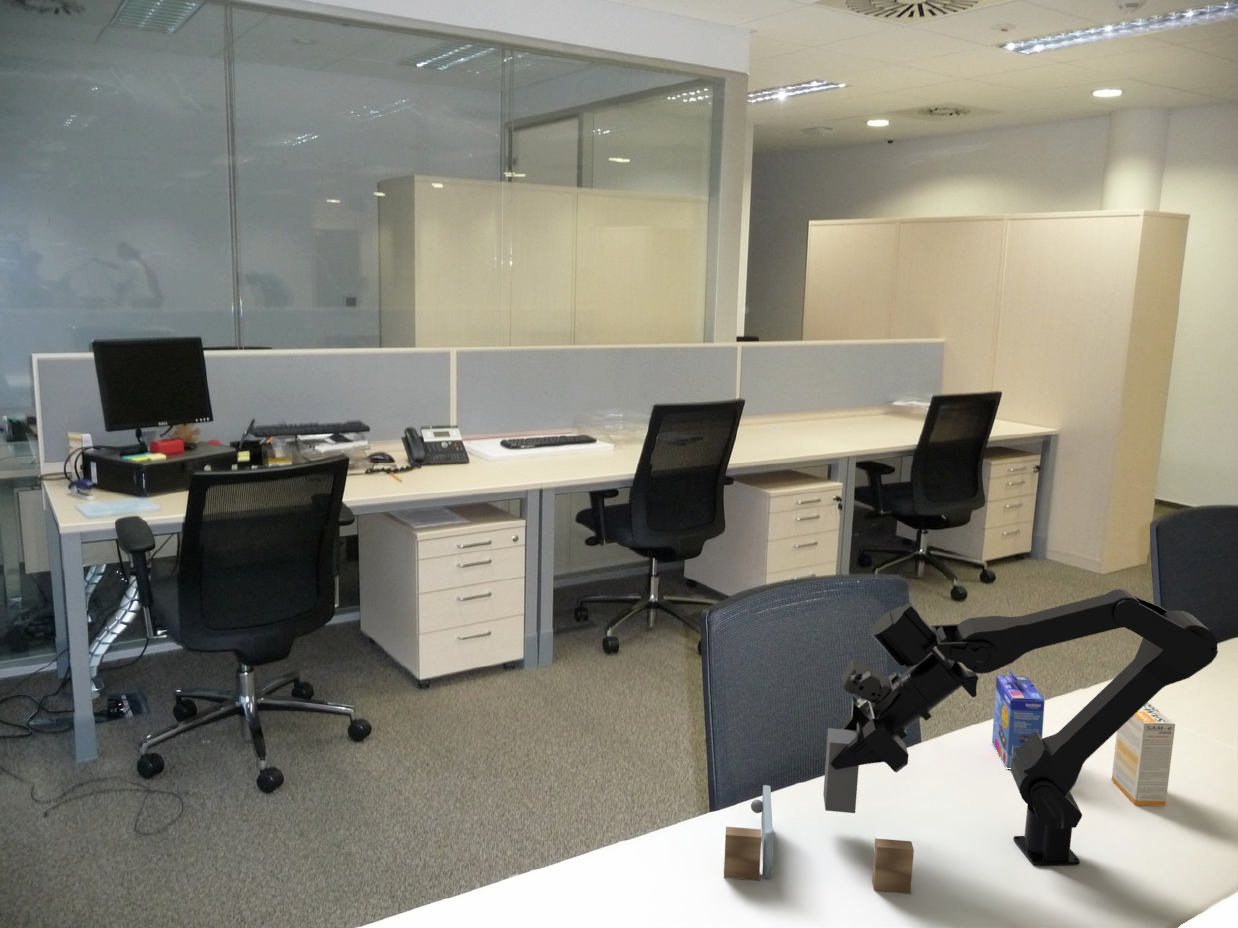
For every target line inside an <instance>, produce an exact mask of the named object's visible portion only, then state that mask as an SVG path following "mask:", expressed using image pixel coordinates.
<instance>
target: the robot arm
mask: <svg viewBox="0 0 1238 928" xmlns="http://www.w3.org/2000/svg"><path fill="white" fill-rule="evenodd" d="M1121 628H1122V629H1123V628H1124V629H1127V630H1128V631H1131V632H1133V633H1135V635H1136V634H1137V635H1139V636H1140V637H1142V638H1141V639H1142V640H1141V642H1140V645H1139V646H1138V650H1137V652H1136V654H1135V657H1134V658H1133V659H1132V661H1130V663H1129V664H1128V665H1127V666H1126V667H1124V669H1122V671H1120V673H1118V674H1117V675H1116V676H1115V677H1114V678H1113V679H1111V681H1110V682H1109V683H1108V684H1107V685H1106V686H1105V687H1104V688H1103V689H1102V690H1101V691H1099V693H1097V694H1096V695H1095V697H1093V698H1092V699H1091V700H1090V701H1089V702H1088V703H1087V704H1086V705H1085V706H1084V707H1082V709H1080V711H1079V712H1078V713H1077V714H1075V715H1074V716H1073V717H1072V718H1071V720H1070V721H1069V722H1068V723H1067V724H1065V725H1064V726H1063V727H1062V728H1061V729H1060V730H1059V731H1058V732H1057V733H1054V734H1052V735H1049V736H1046V737H1042V738H1041V736H1040V735H1039V734H1038V733H1037V732H1034V733H1033V734H1031V736H1030V737H1029V738H1028V740H1027V741H1026V742H1025V743H1024V744H1023V745H1022V746H1020V747H1018V748H1016V749H1014V751H1015V753H1016V755H1015V757H1014V758H1013V759H1012V762H1011V770H1010V772H1011V775H1012V776H1013V779H1014V782H1015V785H1016V787H1017V789H1018V792H1019V795H1020V796H1021V799H1022V801H1024V802H1025V803H1026V805H1027V807H1026V818H1025V828H1024V835H1014V836H1013V838H1012V839H1013V842H1014V843H1015V844H1016V845H1017V847H1018V848H1019V850H1021V852H1022V853H1023V854H1024V855H1025V857H1026V858H1027V859H1028V860H1029V862H1030V863H1031V864H1032V865H1034V866H1059V865H1060V866H1061V865H1067V866H1068V865H1070V866H1072V865H1080V862H1081V860H1080V858H1079V857H1078V856H1077V855H1076V854H1075V853H1074V851H1073V850H1071V844H1072V843H1071V841H1072V833H1073V829H1076V828H1077V827H1078V824H1079V822H1080V821H1081V819H1082V817H1083V813H1082V812H1081V810H1080V809H1081V808H1079V805H1078V803H1077V801H1076V799H1075V798H1074V796H1073V794H1072V792H1071V790H1072V789H1073V788H1074V786H1075V785H1076V782H1077V781H1078V778H1079V775H1080V772H1081V770H1082V768H1083V766H1084V763H1085V762H1086V761H1087V760H1088V759H1089V758H1090V757H1092V755H1093V754H1094V753H1096V751H1097V750H1099V748H1101V746H1103V745H1104V744H1105V743H1106V742H1107V741H1108V740H1109V739H1110V738H1112V736H1113V735H1114V734H1116V733H1117V731H1118V730H1119V729H1120V728H1121V727H1122V726H1123V725H1124V724H1125V723H1126V722H1127V721H1128V720H1129V719H1130V718H1131V717H1132V716H1133V715H1135V714H1136V713H1137V712H1138V711H1139V710H1140V709H1141V708H1142V707H1143V706H1144V705H1145V704H1146V703H1149V702H1150V701H1151V700H1152V699H1153V698H1154V697H1155V696H1156V695H1157V694H1158V693H1159V692H1160V691H1161V690H1162V689H1164V688H1165V687H1166V686H1169V685H1173V684H1175V683H1179V682H1182V681H1184V680H1187V679H1190V678H1191V677H1192V676H1194V675H1196V674H1197V673H1199V672H1200V671H1202V670H1203V669H1204V668H1206V667H1208V666H1209V665H1211V664H1212V662H1213V661H1214V660H1215V659H1216V658H1217V655H1218V653H1219V651H1218V641H1217V639H1216V638H1217V637H1216V636H1215V634H1213V633H1212V631H1211V630H1210V629H1209V628H1207V627H1206V626H1205V625H1204V624H1203V623H1202V622H1201V621H1200V620H1198V618H1196V617H1195V616H1194V615H1192V614H1191V613H1189V612H1187V611H1183V610H1168V609H1165V608H1164V607H1161V606H1160V605H1158V604H1155V603H1153V602H1151V601H1147V600H1146V599H1143V598H1140V597H1137V596H1135V595H1134V594H1132V593H1131V592H1129V591H1128V590H1127V589H1126V590H1125V589H1122V588H1120V589H1118V588H1117V589H1113V590H1111V591H1109V592H1107V593H1105V594H1101V595H1096V596H1093V597H1090V598H1085V599H1081V600H1077V601H1074V602H1070V603H1067V604H1063V605H1062V604H1061V605H1059V606H1054V607H1051V608H1047V609H1043V610H1039V611H1035V612H1032V613H1027V614H1025V615H1019V616H1002V615H990V616H988V615H987V616H978V617H970V618H967V619H964V620H962V621H960V623H957V624H956V623H954V624H953V623H952V624H932V625H930V624H929V623H928V622H927V621H926V620H925V618H924V617H922V615H921V614H920V613H919V610H918V609H917V608H916V606H915V605H914V604H913V603H912V602H907V603H906V604H904V606H899V607H895V608H894V609H892V610H891V611H889V610H888V611H887V612H885V613H884V614H883V615H882V616H880V617H879V618H878V620H876V622H875V623H874V624H873V625H872V627H871V628H870V632H869V634H870V636H871V637H872V638H873V639H874V640H875V641H876V642H877V643H878V644H879V645H880V647H881V648H882V649H883V650H884V651H885V652H886V653H887V655H889V656H890V658H892V659H893V661H895V663H896V664H897V665H898V666H906V667H907V668H909V670H908V671H906V672H904V673H903V674H901V673H900V672H899V671H898V672H892V674H890V675H889V676H886V675H885V674H882V673H881V672H879V670H876V669H874V668H872V667H870V666H868V665H867V664H864V663H863V662H861V661H859V660H857V659H854V658H852V659H851V660H850V662H849V664H848V665H847V667H846V668H845V670H844V672H843V674H842V676H841V677H840V679H841V681H842V684H841V686H842V688H843V689H844V690H845V691H846V692H848V693H849V694H851V695H856V696H858V697H859V698H858V699H856V698H855V697H854V696H852V697H851V712H850V716H849V717H848V719H847V720H846V721H845V723H844V725H843V726H842V727H841V729H844V730H856V737H855V738H854V739H853V740H852V741H851V742H850V743H849V744H848V745H847V746H846V747H845V748H844V749H843V750H842V751H841V752H840V753H839V754H838V755H837V756H836V757H835V759H834V760H833V761H832V762H831V765H832V766H833V768H834V769H836V770H837V769H843V768H848V767H853V766H858V765H859V766H863V765H871V764H878V763H879V764H880V763H885V764H887V766H889V768H890V769H891V770H893V772H894V773H896V774H897V773H898V772H900V770H903V769H904V767H906V766H907V765H908V764H909V752H908V749H907V746H906V743H905V742H904V741H903V739H904V738H906V737H908V732H907V729H909V727H910V726H912V725H914V724H915V723H916V722H917V721H919V720H920V719H921V718H922V719H923V720H924V721H925V722H927V721H929V719H930V718H931V719H932V717H933V716H932V714H931V711H932V710H933V709H934V708H936V707H937V706H938V705H939V704H941V702H943V701H944V700H946V699H947V698H948V697H949V696H951V695H952V694H954V693H955V692H956V691H958V690H959V689H960V688H961V687H962V688H963V689H964V690H965V691H966V692H967V693H968V694H969V695H970V696H971V698H976V697H977V686H978V681H979V680H980V679H979V676H978V674H980V675H981V674H990V673H992V672H994V671H997V670H999V669H1001V668H1003V667H1006V666H1009V665H1011V664H1013V663H1014V662H1016V661H1017V660H1019V659H1020V658H1022V656H1024V655H1025V654H1027V653H1030V652H1031V651H1035V650H1038V649H1042V648H1045V647H1050V646H1054V645H1057V644H1061V643H1066V642H1070V641H1073V640H1079V639H1080V638H1085V637H1089V636H1093V635H1097V634H1101V633H1106V632H1109V631H1113V630H1116V629H1121ZM910 667H911V668H910ZM964 667H965V668H966V669H967V670H966V669H965V668H964Z"/></svg>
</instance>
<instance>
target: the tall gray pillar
mask: <svg viewBox="0 0 1238 928" xmlns="http://www.w3.org/2000/svg"><path fill="white" fill-rule="evenodd" d="M826 736H827V738H826V751H825V767H824V768H825V769H824V782H823V803H824V810H825V811H826V812H837V813H847V814H848V813H849V814H855V813H856V809H857V807H856V806H857V793H858V778H859V770H860V769H859V767H860V765H858V766H853V767H848V768H843V769H837V770H836V769H834V768H833V766H832V765H831V762H832V761H833V760H834V759H835V757H836V756H837V755H838V754H839V753H840V752H841V751H842V750H843V749H844V748H845V747H846V746H847V745H848V744H849V743H850V742H851V741H852V740H853V739H854V738H855V737H856V730H844V729H842V728H833V727H832V728H830V727H829V728H828V727H827V735H826Z"/></svg>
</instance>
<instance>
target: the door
mask: <svg viewBox="0 0 1238 928" xmlns="http://www.w3.org/2000/svg"><path fill="white" fill-rule="evenodd" d="M771 791H772V790H771V785H765V784H763V785H762V799H761V800H760V799H754V800H752V801H751V804H750V809H751V810H752V812H754V813H756V814H760V813H761V819H760V821H761V849H762V850H761V851H762V873H761V874H762V876H763V877H765V878H771V877H772V876H773V875H772V874H773V857H774V855H773V854H774V838H775V836H774V835H775V832H774V827H773V810H772V809H773V808H772V795H771V794H772V793H771Z"/></svg>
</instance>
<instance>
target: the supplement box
mask: <svg viewBox="0 0 1238 928" xmlns="http://www.w3.org/2000/svg"><path fill="white" fill-rule="evenodd" d="M1175 730H1176V723H1175V722H1174V721H1172V719H1170V718H1168V716H1166V715H1165V714H1164V713H1162V712H1161V711H1160V710H1159V709H1157V708H1156V707H1155V705H1153V704H1152V703H1151V702H1147V703H1146V704H1145V705H1144V706H1143V707H1142V708H1141V709H1140V710H1139V711H1138V712H1137V713H1136V714H1135V715H1133V716H1132V717H1131V718H1130V719H1129V720H1128V721H1127V722H1126V723H1125V724H1124V725H1123V726H1122V727H1121V728H1120V729H1119V730H1118V731H1116V735H1115V745H1114V755H1113V765H1112V773H1111V781H1112V780H1113V781H1114V782H1113V781H1112V782H1113V783H1114V784H1115V785H1116V786H1117V787H1118V788H1119V790H1121V791H1122V792H1123V793H1124V795H1126V797H1128V799H1129V800H1130V801H1131V802H1132V803H1133V804H1134V805H1136V806H1144V805H1145V806H1148V805H1150V807H1151V805H1152V806H1155V807H1156V806H1159V807H1164V806H1166V805H1167V797H1168V796H1167V795H1168V789H1169V779H1170V773H1171V772H1170V770H1171V765H1172V763H1171V762H1172V756H1173V755H1172V754H1173V745H1174V737H1175Z"/></svg>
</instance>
